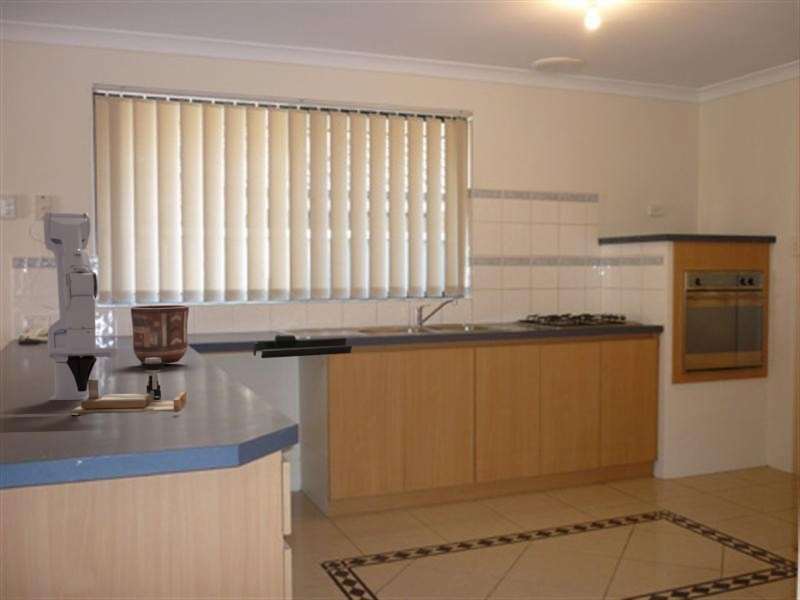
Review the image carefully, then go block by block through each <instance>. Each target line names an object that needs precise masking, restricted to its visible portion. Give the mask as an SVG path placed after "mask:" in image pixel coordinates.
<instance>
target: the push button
mask: <svg viewBox="0 0 800 600" xmlns="http://www.w3.org/2000/svg"><path fill="white" fill-rule="evenodd" d="M140 365H141V369H142V370H143V371H144V372H145V373H148V374H149V375H148V381H147V382H148V383H147V384H148V385H145V386H146V394H152V400H162V399H161V398H162V391H161V384H159V380H158V378H159V377H158V372H161V371H162V370H164V369H165V362H162V361H161V358H157V357H153V358H145V361H144V362H140Z"/></svg>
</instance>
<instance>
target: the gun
mask: <svg viewBox="0 0 800 600" xmlns="http://www.w3.org/2000/svg"><path fill="white" fill-rule="evenodd" d="M346 342H347V337H331V338H312V339H311V338H310V339H308V338H307V339H296V336H295V334H292V335H291V334H290V335H287V334H286V335H280V334H276V335H274V340H257V341H256V340H255V341H254V342H253V347H252V351H253V352H252V353H253V356H254V357H256V355H257V351H258V352H259V351H261V354H260V355H261V356H260V357H261V359H273V358H276V359H277V358H292V357H306V356H307V357H309V356H323V355H344V354H351V352H352V347H353V346H355V345H354V344H353V345H350V344H348V345H346Z"/></svg>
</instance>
